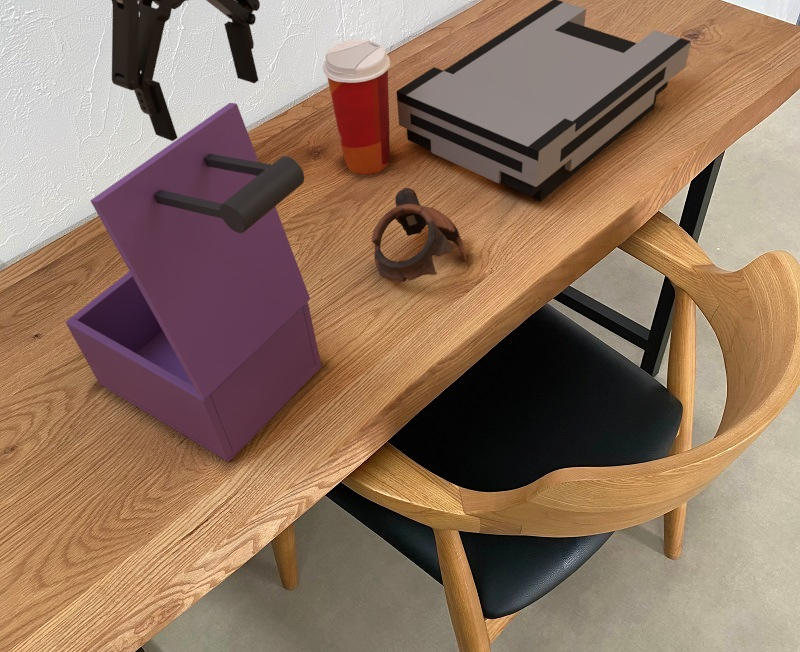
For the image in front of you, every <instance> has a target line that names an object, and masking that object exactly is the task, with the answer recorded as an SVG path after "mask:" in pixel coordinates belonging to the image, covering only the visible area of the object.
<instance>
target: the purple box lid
mask: <svg viewBox="0 0 800 652" xmlns="http://www.w3.org/2000/svg"><path fill="white" fill-rule="evenodd" d="M304 182H305V173H304V170H303V168H302V167H301V165H300V164H299V163H298V162H297V160H295V159H293V157H291V156H287V155H283V156H280V158H278V159H277V160H276V161H274V162H273V163H272V164H271V163H266V162H260V160H259V159H258V156H257V153H256V151H255V147H254V145H253V143H252V141H251V138H250V135H249V133H248V129H247V128H246V124H245V122H244V119H243V117H242V114H241V111H240V108H239V106H238V103H236V102H228V104H226V105H224V106H223V107H222V108H220V109H218V110H217V111H216V112H215V113H213V114H211V115H210V116H209V117H207V118H206V119H205V120H203V121H201V122H200V123H199V124H197V125H196V126H194V127H193V128H192V129H190V130H188V131H187V132H186V133H184V134H183V135H182V136H180V137H178V138H177V139H175V140H174V141H172V143H170V144H168V145H167V146H166V147H164V148H163V149H161V150H160V151H159V152H157V153H156V154H154V155H153V156H151V157H150V158H149V159H146V161H144V162H143V163H141V164H140V165H139V166H137V167H136V168H134V169H133V170H132V171H130V172H129V173H127V174H126V175H124V176H123V177H121V178H120V179H119V180H117V181H116V182H115V183H113V184H112V185H110V186H109V187H107V188H106V189H104V190H103V191H101V192H100V193H99V194H98V195H96V196H94V197H93V198H91V199H90V203H91V205H92V207H93V209H94V210H95V212H96V213H97V216H98V218H99V219H100V220H101V223H102V224H103V226H104V228H105V229H106V232H107V233H108V235H109V237H110V238H111V240H112V242H113V244H114V246H115V248H116V250H117V251H118V253H119V255H120V256H121V258H122V260H123V262H124V264H125V266H126V267H127V269H128V272H129V271H130V273H131V274H132V276H133V278H134V280H135V282H136V283H137V285H138V287H139V289H140V291H141V292H142V294H143V296H144V298H145V300H146V301H147V303H148V305H149V307H150V309H151V310H152V312H153V314H154V316H155V318H156V319H157V321H158V323H159V325H160V327H161V328H162V330H163V332H164V334H165V336H166V337H167V339H168V341H169V343H170V344H171V346H172V348H173V350H174V352H175V353H176V355H177V357H178V359H179V361H180V362H181V364H182V366H183V368H184V370H185V371H186V373H187V375H188V377H189V379H190V380H191V382H192V384H193V386H194V388H195V389H196V391H197V393H198V395H199V396H200V397H203V398H207V397H208V396H209V395H210V394H211V393H212V392H213V391H214V390H215V389H216V388H217V387H218V386H219V385H220V384H221V383H222V382H223V381H225V380H226V379H227V378H228V377H229V376H230V375H231V374H232V373H233V372H234V371H235V370H236V369H237V368H238V367H239V366H240V365H241V364H242V363H244V362H245V361H246V360H247V359H248V358H249V357H250V356H251V355H252V354H253V353H254V352H255V351H256V350H257V349H258V348H259V347H260V346H261V345H262V344H264V343H265V342H266V341H267V340H268V339H269V338H270V337H271V336H272V335H273V334H274V333H275V332H276V331H277V330H278V329H279V328H280V327H281V326H283V325H284V324H285V323H286V322H287V321H288V320H289V319H290V318H291V317H292V316H293V315H294V314H295V313H296V312H297V311H298V310H299V309H300V308H302V307H303V306H304V305H305V304H306V303H307V302H308V303H309V301H310V300H311V296H310V294H309V292H308V289H307V286H306V283H305V282H304V281H305V280H304V279H303V276H302V273H301V270H300V268H299V265H298V262H297V260H296V257H295V254H294V252H293V249H292V247H291V244H290V241H289V239H288V236H287V233H286V230H285V228H284V224H283V223H282V220H281V217H280V215H279V211H278V209H277V205H279V204H280V203H282V202H283V201H284V200H285V199H286V198H287V197H289V196H290V195H291V194H292V193H294V192H295V191H296V190H297V189H298V188H299V187H301V186H302V185H303V184H304Z"/></svg>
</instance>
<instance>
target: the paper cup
mask: <svg viewBox="0 0 800 652" xmlns="http://www.w3.org/2000/svg"><path fill="white" fill-rule="evenodd" d="M390 66H391V59H390V57H389V55H388V54H387V52H386V49H385V47H384V46H383V45H382V46H381V45H380V44H378V43H376V42H374V41H372V40H370V39H364V38H363V39H362V38H361V39H360V38H359V39H357V38H356V39H349V40H345V41H341V42H339V43H337V44H335V45H333V46H332V47H329V49H328V50H327V51H326V54H325V60H324V63H323V65H322V71H323V73H324V74H325V76H326V78H327V82H328V86H329V93H330V96H331V97H330V98H331V102H332V107H333V111H334V117H335V121H336V126H337V131H338V136H339V140H340V145H341V149H342V153H343V158H344V162H345V165H346V167H347V169H348V170H349V171H350V172H352V173H354V174H359V175H372V174H376V173H378V172H381V171H383V170H384V169H386V168H387V166H388V165H389V163H390V155H391V152H390V151H391V149H390V146H391V145H390V144H391V143H390V142H391V141H390V104H389V103H390V100H389V98H390V97H389V68H390Z"/></svg>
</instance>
